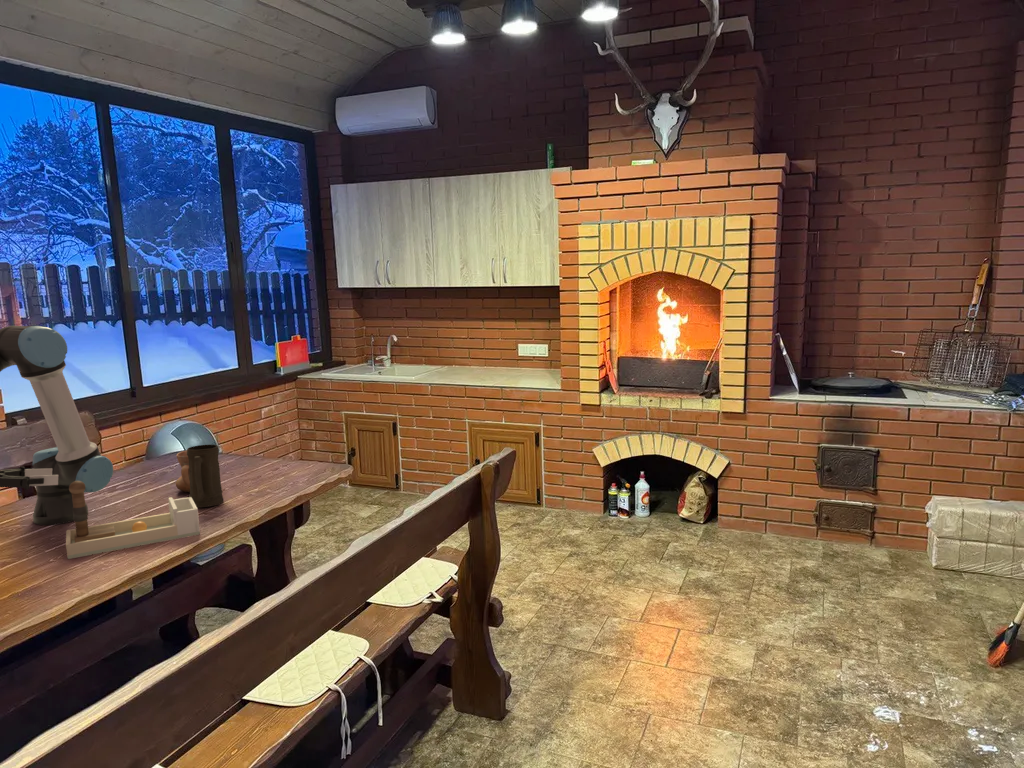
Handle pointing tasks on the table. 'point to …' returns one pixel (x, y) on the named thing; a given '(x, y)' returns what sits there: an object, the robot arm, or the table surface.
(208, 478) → the beer stein
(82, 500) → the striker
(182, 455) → the ceramic jug
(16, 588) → the table surface
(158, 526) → the cream long tray
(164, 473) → the table surface
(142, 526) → the ball
